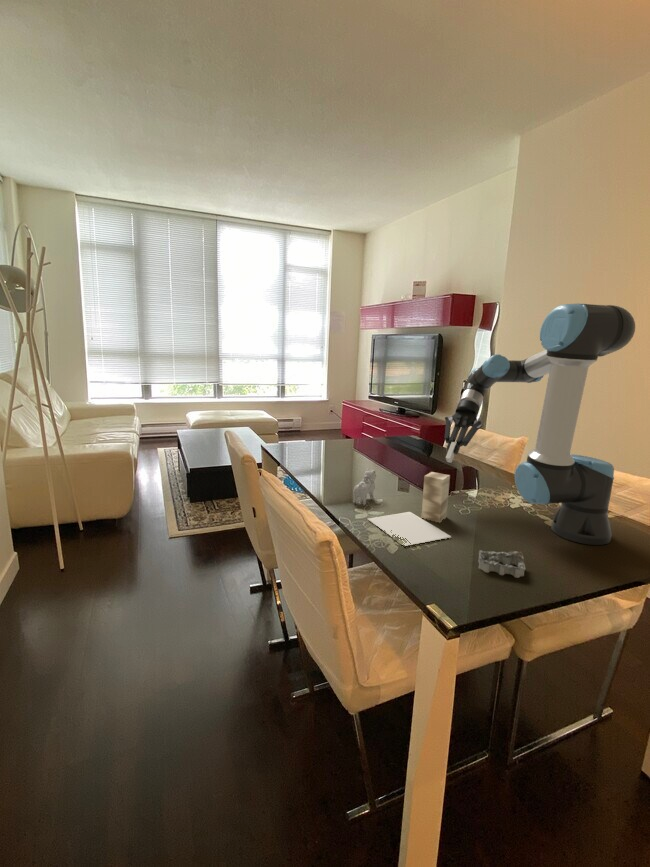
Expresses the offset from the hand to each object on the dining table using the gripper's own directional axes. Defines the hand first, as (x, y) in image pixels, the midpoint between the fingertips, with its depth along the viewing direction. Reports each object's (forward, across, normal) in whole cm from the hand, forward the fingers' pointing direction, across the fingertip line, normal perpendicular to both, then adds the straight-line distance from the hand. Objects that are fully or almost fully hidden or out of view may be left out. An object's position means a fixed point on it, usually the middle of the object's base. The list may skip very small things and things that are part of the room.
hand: (448, 460), depth 141 cm
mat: (+29, +2, +6) cm, 30 cm away
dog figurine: (+20, +25, -4) cm, 32 cm away
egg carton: (+34, -26, +11) cm, 44 cm away
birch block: (+20, -1, -4) cm, 20 cm away
